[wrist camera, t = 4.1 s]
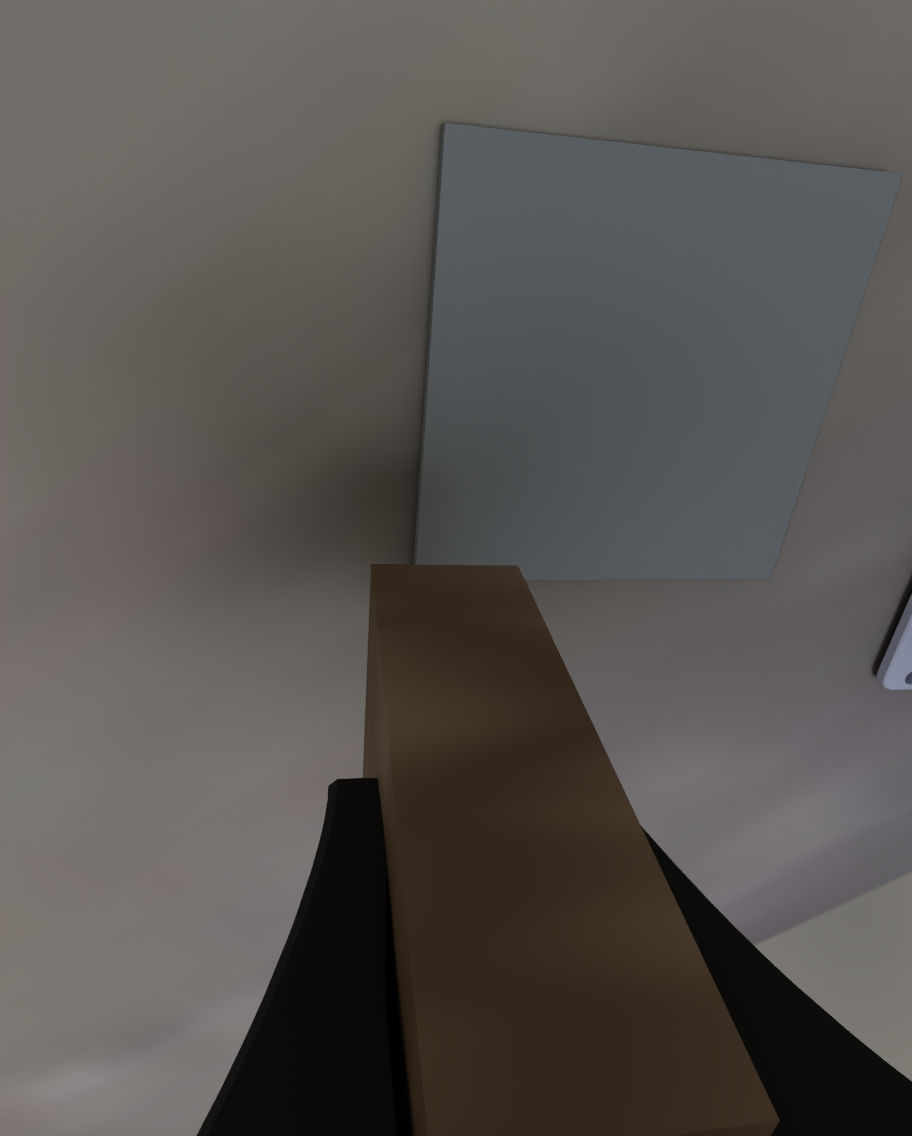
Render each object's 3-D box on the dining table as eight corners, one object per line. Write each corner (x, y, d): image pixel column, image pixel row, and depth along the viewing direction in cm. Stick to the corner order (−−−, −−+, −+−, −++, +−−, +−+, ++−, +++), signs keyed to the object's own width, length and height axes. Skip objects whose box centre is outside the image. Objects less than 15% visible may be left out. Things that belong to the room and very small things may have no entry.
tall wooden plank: (518, 565, 12) (779, 1120, 5) (484, 788, 14) (630, 1379, 7) (370, 564, 11) (430, 1168, 4) (362, 795, 14) (391, 1426, 7)
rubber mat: (887, 173, 16) (903, 173, 16) (761, 571, 21) (770, 579, 20) (441, 124, 14) (444, 122, 14) (413, 571, 19) (415, 580, 18)
